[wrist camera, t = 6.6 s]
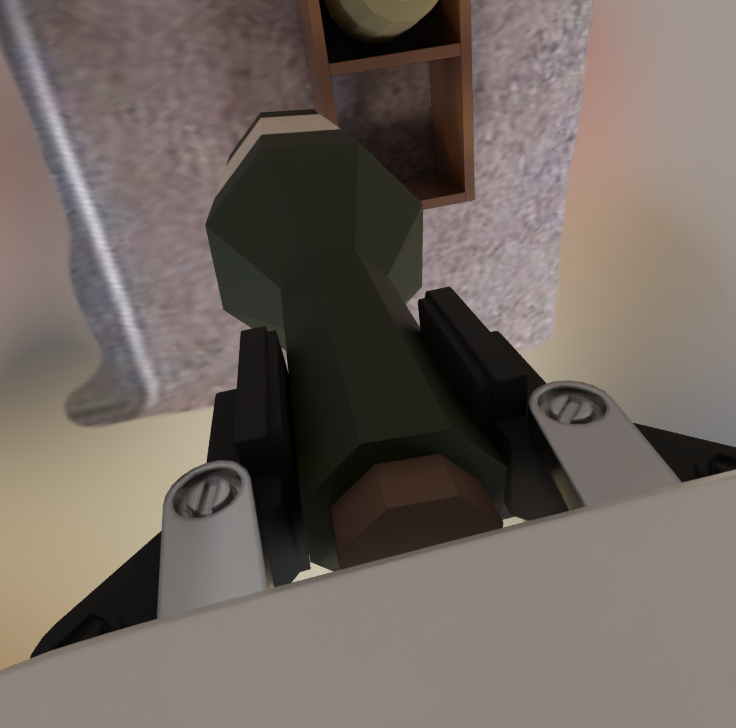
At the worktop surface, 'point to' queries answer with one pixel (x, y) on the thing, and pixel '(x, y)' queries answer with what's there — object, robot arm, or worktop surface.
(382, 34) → the squeeze bottle
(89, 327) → the worktop surface
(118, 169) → the worktop surface
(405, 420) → the wine bottle
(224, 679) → the robot arm
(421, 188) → the bottle rack
